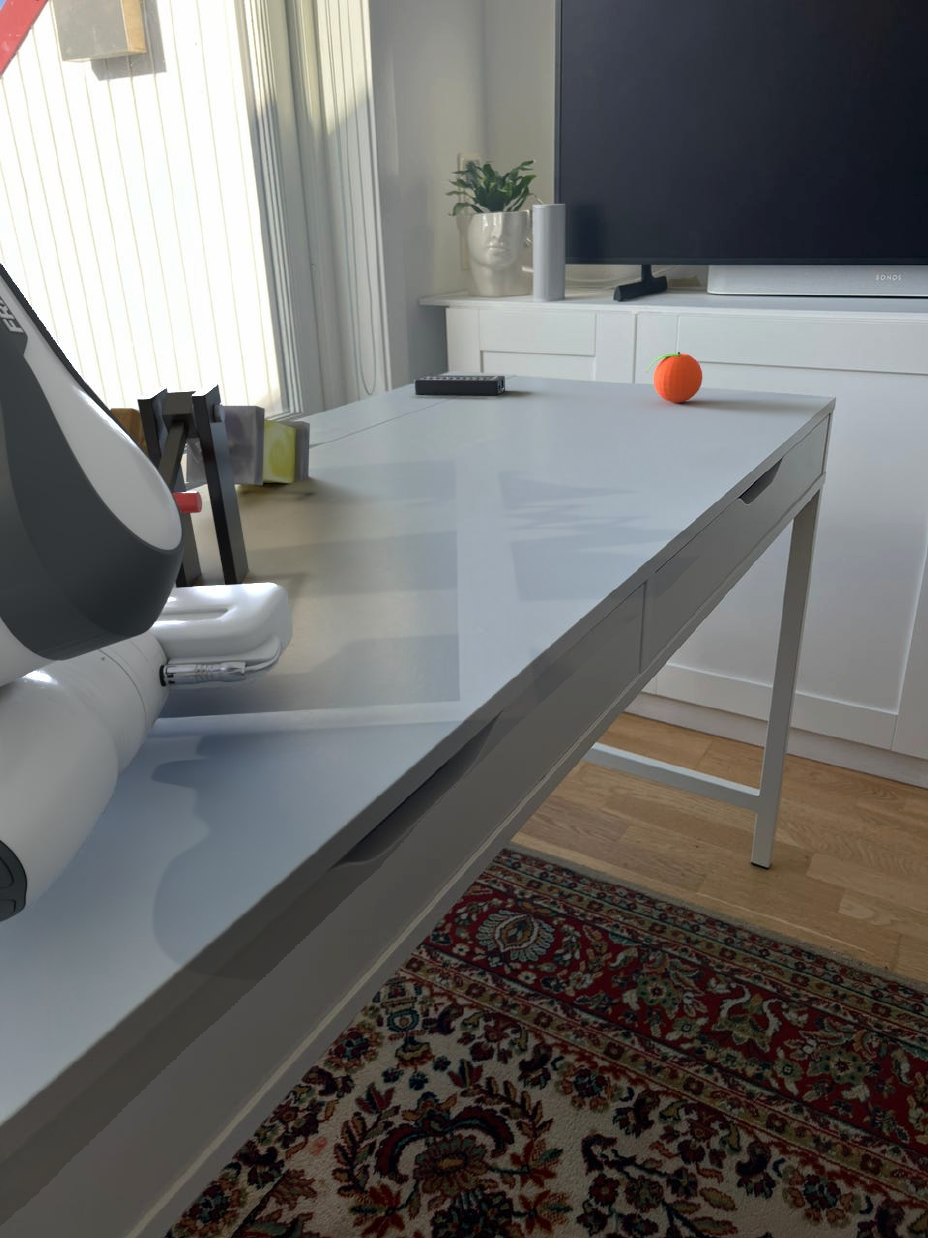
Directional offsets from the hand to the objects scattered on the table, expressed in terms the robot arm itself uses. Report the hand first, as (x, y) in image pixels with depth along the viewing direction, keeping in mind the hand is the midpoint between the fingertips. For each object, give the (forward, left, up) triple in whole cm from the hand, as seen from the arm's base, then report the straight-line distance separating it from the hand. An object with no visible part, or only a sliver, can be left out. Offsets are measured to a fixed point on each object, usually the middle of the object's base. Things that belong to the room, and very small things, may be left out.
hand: (154, 585), depth 62 cm
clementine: (+52, +78, -6) cm, 94 cm away
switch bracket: (0, +13, -6) cm, 14 cm away
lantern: (-4, +31, -7) cm, 32 cm away
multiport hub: (+21, +96, -6) cm, 98 cm away
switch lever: (0, +9, +6) cm, 11 cm away
